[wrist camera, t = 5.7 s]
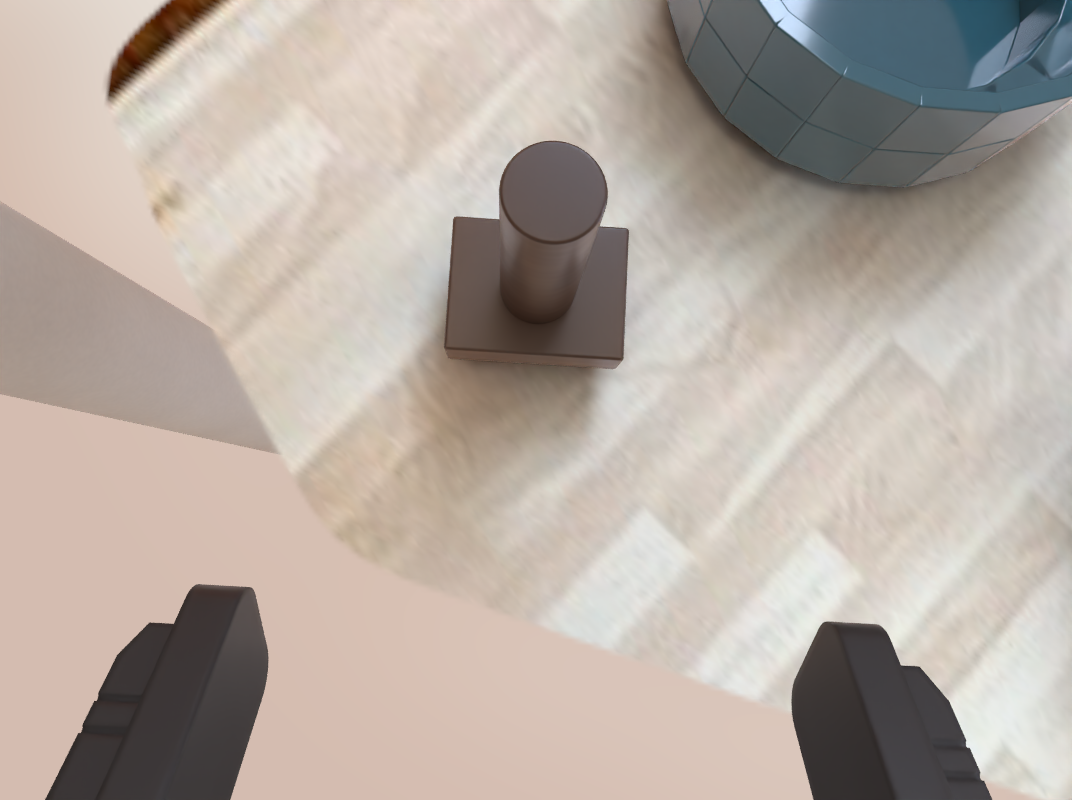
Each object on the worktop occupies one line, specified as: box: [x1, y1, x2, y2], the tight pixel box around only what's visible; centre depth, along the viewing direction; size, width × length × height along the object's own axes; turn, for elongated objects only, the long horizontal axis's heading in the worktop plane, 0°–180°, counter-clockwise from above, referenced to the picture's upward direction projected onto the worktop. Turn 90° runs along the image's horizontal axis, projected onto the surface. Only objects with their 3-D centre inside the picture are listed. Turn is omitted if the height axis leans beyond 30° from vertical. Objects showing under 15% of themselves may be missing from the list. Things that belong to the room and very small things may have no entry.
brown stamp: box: [444, 141, 629, 369], centre depth 21 cm, size 5×4×10 cm
